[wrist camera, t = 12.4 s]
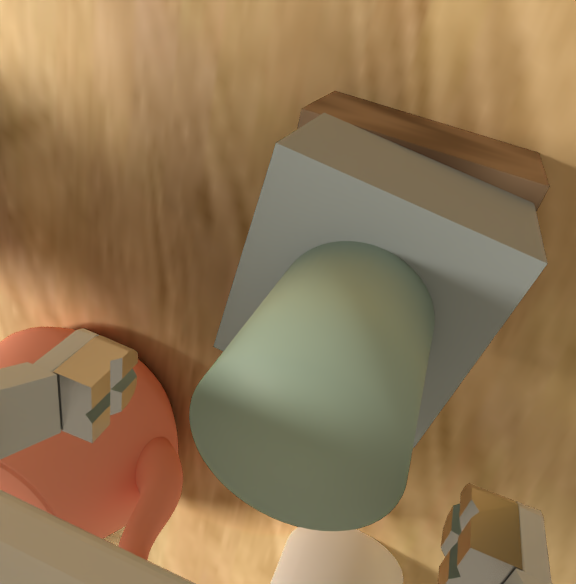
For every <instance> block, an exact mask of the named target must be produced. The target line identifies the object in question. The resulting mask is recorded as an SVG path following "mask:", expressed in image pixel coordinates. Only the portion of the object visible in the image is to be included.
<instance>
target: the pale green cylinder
mask: <svg viewBox="0 0 576 584" xmlns="http://www.w3.org/2000/svg"><path fill="white" fill-rule="evenodd" d="M434 325H435V313H434V307H433V303H432V299H431V296H430V294H429V292H428V290H427V288H426V286H425V284H424V283H423V281H422V280H421V278H420V277H419V275H418V274H417V273H416V272H415V271H414V270H413V269H412V268H411V267H410V266H409V265H408V264H407V263H406V262H405V261H403V260H402V259H400V258H399V257H397V256H396V255H394V254H393V253H391V252H389V251H387V250H385V249H382V248H380V247H377V246H375V245H371V244H367V243H363V242H355V241H338V242H330V243H326V244H323V245H320V246H317V247H315V248H312V249H311V250H309V251H307V252H305V253H304V254H303V255H301V256H300V257H299V258H298V259H296V261H295V262H294V263H293V264H292V265H291V266H290V267H289V269H288V270H287V271H286V272H285V274H284V275H283V276H282V277H281V279H280V280H279V281H278V283H277V284H276V285H275V286H274V288H273V289H272V290H271V291H270V293H269V294H268V295H267V297H266V298H265V299H264V300H263V302H262V303H261V304H260V305H259V307H258V308H257V309H256V311H255V312H254V313H253V314H252V316H251V317H250V318H249V319H248V321H247V322H246V323H245V325H244V326H243V327H242V328H241V330H240V331H239V332H238V333H237V335H236V336H235V337H234V339H233V340H232V341H231V342H230V344H229V345H228V346H227V348H226V349H225V350H224V351H223V353H222V354H221V355H220V356H219V358H218V359H217V360H216V362H215V363H214V364H213V365H212V367H211V368H210V369H209V370H208V372H207V373H206V374H205V376H204V377H203V378H202V379H201V381H200V382H199V384H198V385H197V387H196V389H195V391H194V393H193V396H192V399H191V404H190V414H189V419H190V427H191V432H192V435H193V439H194V442H195V444H196V446H197V449H198V451H199V453H200V455H201V456H202V458H203V460H204V461H205V463H206V464H207V466H208V467H209V469H210V470H211V471H212V472H213V474H214V475H215V476H216V477H217V478H218V480H219V481H220V482H221V483H222V484H223V485H224V486H225V487H226V488H227V489H229V490H230V491H231V492H232V493H233V494H235V495H236V496H237V497H238V498H240V499H241V500H242V501H244V502H245V503H247V504H248V505H250V506H251V507H253V508H255V509H256V510H258V511H260V512H262V513H264V514H266V515H268V516H270V517H272V518H274V519H277V520H279V521H282V522H284V523H287V524H291V525H294V526H297V527H302V528H306V529H311V530H319V531H347V530H353V529H358V528H362V527H365V526H368V525H370V524H373V523H374V522H376V521H378V520H380V519H382V518H383V517H384V516H386V515H387V514H389V513H390V512H391V511H392V510H393V508H394V507H395V506H396V505H397V504H398V502H399V500H400V499H401V497H402V495H403V493H404V490H405V487H406V483H407V478H408V472H409V466H410V461H411V455H412V450H413V444H414V438H415V433H416V427H417V421H418V416H419V410H420V405H421V399H422V393H423V388H424V382H425V376H426V371H427V365H428V360H429V354H430V348H431V343H432V337H433V331H434Z"/></svg>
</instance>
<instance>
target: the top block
mask: <svg viewBox="0 0 576 584" xmlns="http://www.w3.org/2000/svg"><path fill="white" fill-rule="evenodd" d="M338 241H355V242H363V243H367V244H371V245H375V246H377V247H380V248H382V249H385V250H387V251H389V252H391V253H393V254H394V255H396V256H397V257H399V258H400V259H402V260H403V261H405V262H406V263H407V264H408V265H409V266H410V267H411V268H412V269H413V270H414V271H415V272H416V273H417V274H418V275H419V277H420V278H421V280H422V281H423V283H424V284H425V286H426V288H427V290H428V292H429V294H430V296H431V299H432V303H433V307H434V313H435V325H434V331H433V337H432V343H431V348H430V354H429V360H428V365H427V371H426V376H425V382H424V388H423V393H422V399H421V405H420V410H419V416H418V421H417V427H416V433H415V438H414V444H413V448H414V447H415V446H416V444H417V443H418V442H419V440H420V439H421V437H422V436H423V435H424V433H425V432H426V431H427V429H428V428H429V426H430V425H431V424H432V422H433V421H434V419H435V418H436V417H437V415H438V414H439V413H440V411H441V410H442V408H443V407H444V406H445V404H446V403H447V402H448V400H449V399H450V397H451V396H452V395H453V393H454V392H455V391H456V389H457V388H458V386H459V385H460V384H461V382H462V381H463V380H464V378H465V377H466V375H467V374H468V373H469V371H470V370H471V368H472V367H473V366H474V364H475V363H476V362H477V360H478V359H479V357H480V356H481V355H482V353H483V352H484V351H485V349H486V348H487V346H488V345H489V344H490V342H491V341H492V340H493V338H494V337H495V335H496V334H497V333H498V331H499V330H500V329H501V327H502V326H503V324H504V323H505V322H506V320H507V319H508V318H509V316H510V315H511V313H512V312H513V311H514V309H515V308H516V306H517V305H518V304H519V302H520V301H521V300H522V298H523V297H524V295H525V294H526V293H527V291H528V290H529V289H530V287H531V286H532V284H533V283H534V282H535V280H536V279H537V278H538V276H539V275H540V273H541V272H542V271H543V269H544V268H545V267H546V265H547V264H548V263H547V259H546V254H545V250H544V245H543V241H542V236H541V232H540V227H539V223H538V218H537V214H536V209H535V205H534V203H532V202H530V201H528V200H525V199H523V198H521V197H518V196H516V195H514V194H511V193H509V192H507V191H504V190H502V189H500V188H498V187H495V186H493V185H491V184H488V183H486V182H484V181H481V180H479V179H477V178H474V177H472V176H470V175H467V174H465V173H463V172H461V171H458V170H456V169H454V168H451V167H449V166H447V165H444V164H442V163H440V162H437V161H435V160H433V159H430V158H428V157H426V156H424V155H421V154H419V153H417V152H414V151H412V150H410V149H407V148H405V147H403V146H400V145H398V144H396V143H393V142H391V141H389V140H387V139H384V138H382V137H380V136H377V135H375V134H373V133H370V132H368V131H366V130H363V129H361V128H359V127H356V126H354V125H352V124H350V123H347V122H345V121H343V120H340V119H338V118H336V117H333V116H331V115H329V114H326V113H323V114H321V115H319V116H318V117H316V118H315V119H313V120H311V121H310V122H308V123H307V124H305V125H304V126H302V127H300V128H299V129H297V130H296V131H294V132H292V133H291V134H289V135H288V136H286V137H284V138H283V139H281V140H280V141H278V142H276V144H275V148H274V151H273V154H272V158H271V161H270V164H269V167H268V171H267V174H266V177H265V180H264V184H263V187H262V190H261V193H260V197H259V200H258V203H257V206H256V210H255V213H254V216H253V219H252V223H251V226H250V229H249V232H248V236H247V239H246V242H245V245H244V249H243V252H242V255H241V258H240V262H239V265H238V268H237V271H236V275H235V278H234V281H233V284H232V288H231V291H230V294H229V297H228V301H227V304H226V307H225V310H224V314H223V317H222V320H221V323H220V327H219V330H218V333H217V336H216V340H215V343H214V346H213V347H215V348H217V349H219V350H221V351H224V350H225V349H226V348H227V346H228V345H229V344H230V342H231V341H232V340H233V339H234V337H235V336H236V335H237V333H238V332H239V331H240V330H241V328H242V327H243V326H244V325H245V323H246V322H247V321H248V319H249V318H250V317H251V316H252V314H253V313H254V312H255V311H256V309H257V308H258V307H259V305H260V304H261V303H262V302H263V300H264V299H265V298H266V297H267V295H268V294H269V293H270V291H271V290H272V289H273V288H274V286H275V285H276V284H277V283H278V281H279V280H280V279H281V277H282V276H283V275H284V274H285V272H286V271H287V270H288V269H289V267H290V266H291V265H292V264H293V263H294V262H295V261H296V259H298V258H299V257H300V256H301V255H303V254H304V253H305V252H307V251H309V250H311V249H312V248H315V247H317V246H320V245H323V244H326V243H330V242H338Z"/></svg>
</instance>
